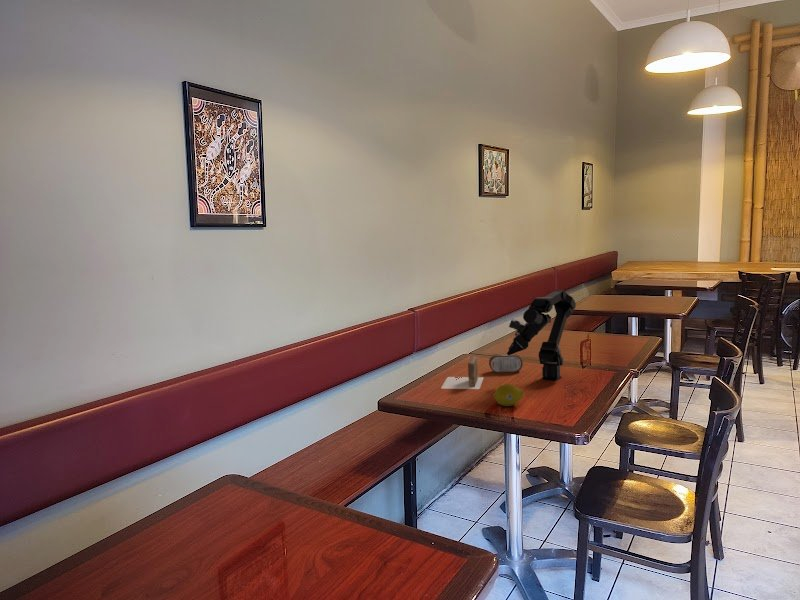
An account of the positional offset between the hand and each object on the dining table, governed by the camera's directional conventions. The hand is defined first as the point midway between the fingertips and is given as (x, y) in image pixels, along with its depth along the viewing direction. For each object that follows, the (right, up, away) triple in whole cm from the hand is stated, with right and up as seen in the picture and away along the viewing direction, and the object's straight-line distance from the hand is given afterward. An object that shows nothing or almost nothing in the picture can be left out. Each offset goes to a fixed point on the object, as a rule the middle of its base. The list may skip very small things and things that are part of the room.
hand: (508, 352), depth 240 cm
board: (-14, -14, +5) cm, 20 cm away
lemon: (-5, -18, -26) cm, 32 cm away
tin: (+3, -11, +21) cm, 24 cm away
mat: (-18, -14, +6) cm, 24 cm away
